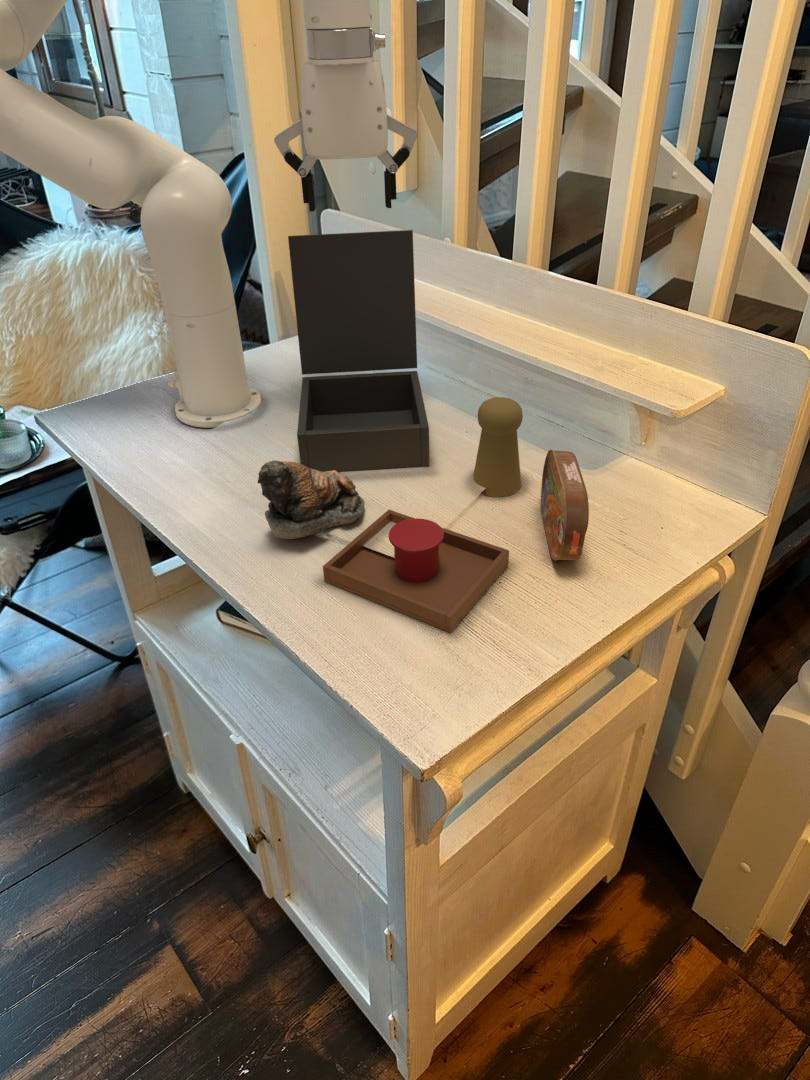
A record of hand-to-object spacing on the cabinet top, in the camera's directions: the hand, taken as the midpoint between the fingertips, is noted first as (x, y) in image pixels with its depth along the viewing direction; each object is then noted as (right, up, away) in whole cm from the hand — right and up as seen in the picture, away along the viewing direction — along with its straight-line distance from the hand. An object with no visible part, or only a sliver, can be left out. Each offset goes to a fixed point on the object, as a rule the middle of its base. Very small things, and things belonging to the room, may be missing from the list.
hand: (350, 207), depth 96 cm
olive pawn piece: (+18, -36, -3) cm, 40 cm away
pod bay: (+1, -29, +6) cm, 30 cm away
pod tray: (+8, -46, -17) cm, 50 cm away
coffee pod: (+8, -45, -17) cm, 49 cm away
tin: (+24, -42, -12) cm, 50 cm away
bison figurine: (-3, -41, -10) cm, 43 cm away
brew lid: (0, -11, +5) cm, 12 cm away
